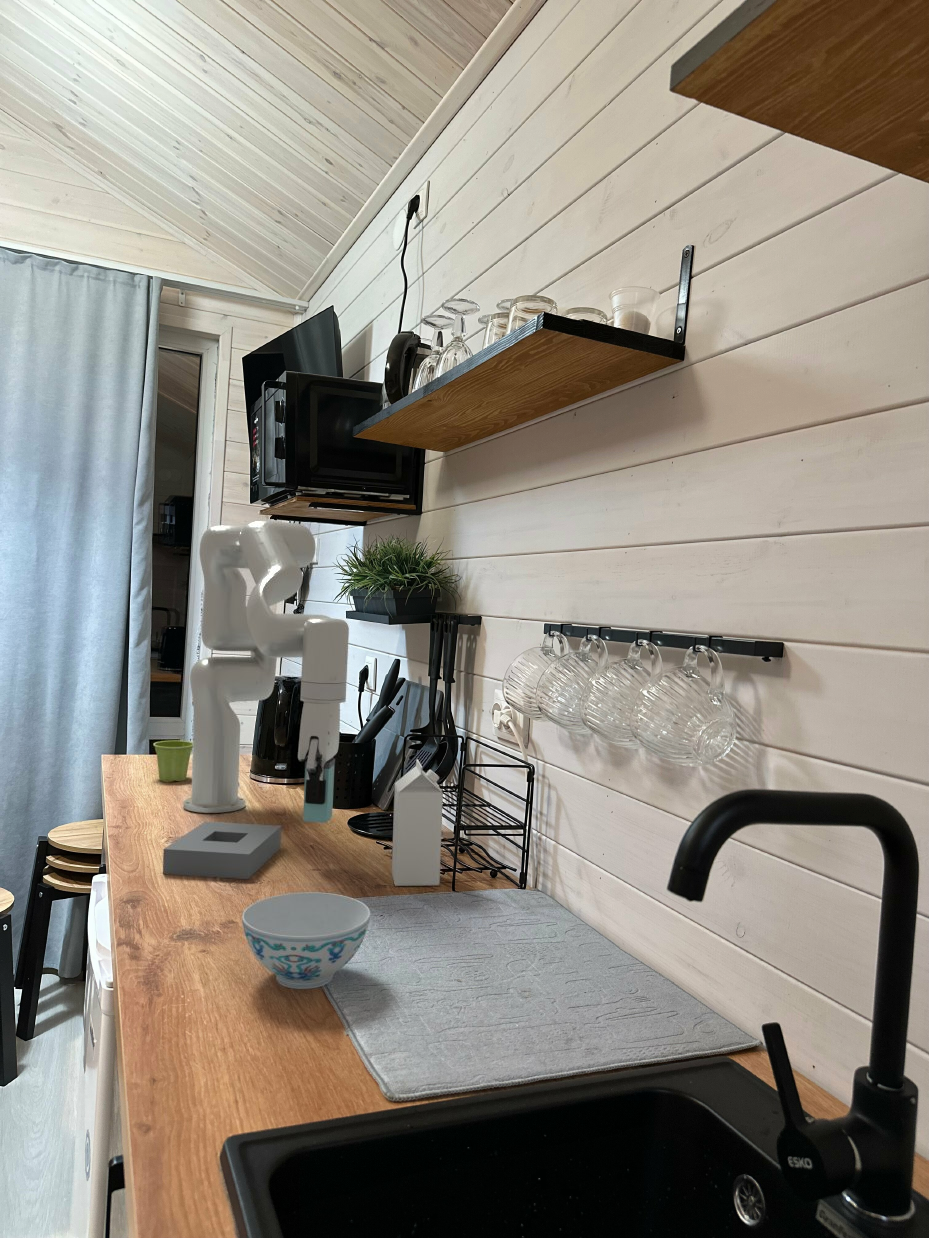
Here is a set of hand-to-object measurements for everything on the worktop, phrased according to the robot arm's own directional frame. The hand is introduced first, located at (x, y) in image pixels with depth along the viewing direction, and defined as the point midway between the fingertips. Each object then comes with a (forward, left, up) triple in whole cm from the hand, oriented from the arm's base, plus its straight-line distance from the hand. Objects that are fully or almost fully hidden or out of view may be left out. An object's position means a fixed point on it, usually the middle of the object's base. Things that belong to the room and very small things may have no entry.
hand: (318, 798), depth 150 cm
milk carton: (+4, +17, -11) cm, 21 cm away
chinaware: (+43, +9, -11) cm, 46 cm away
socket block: (0, -16, -11) cm, 19 cm away
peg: (0, 0, -3) cm, 3 cm away
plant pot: (-60, -50, -11) cm, 78 cm away
